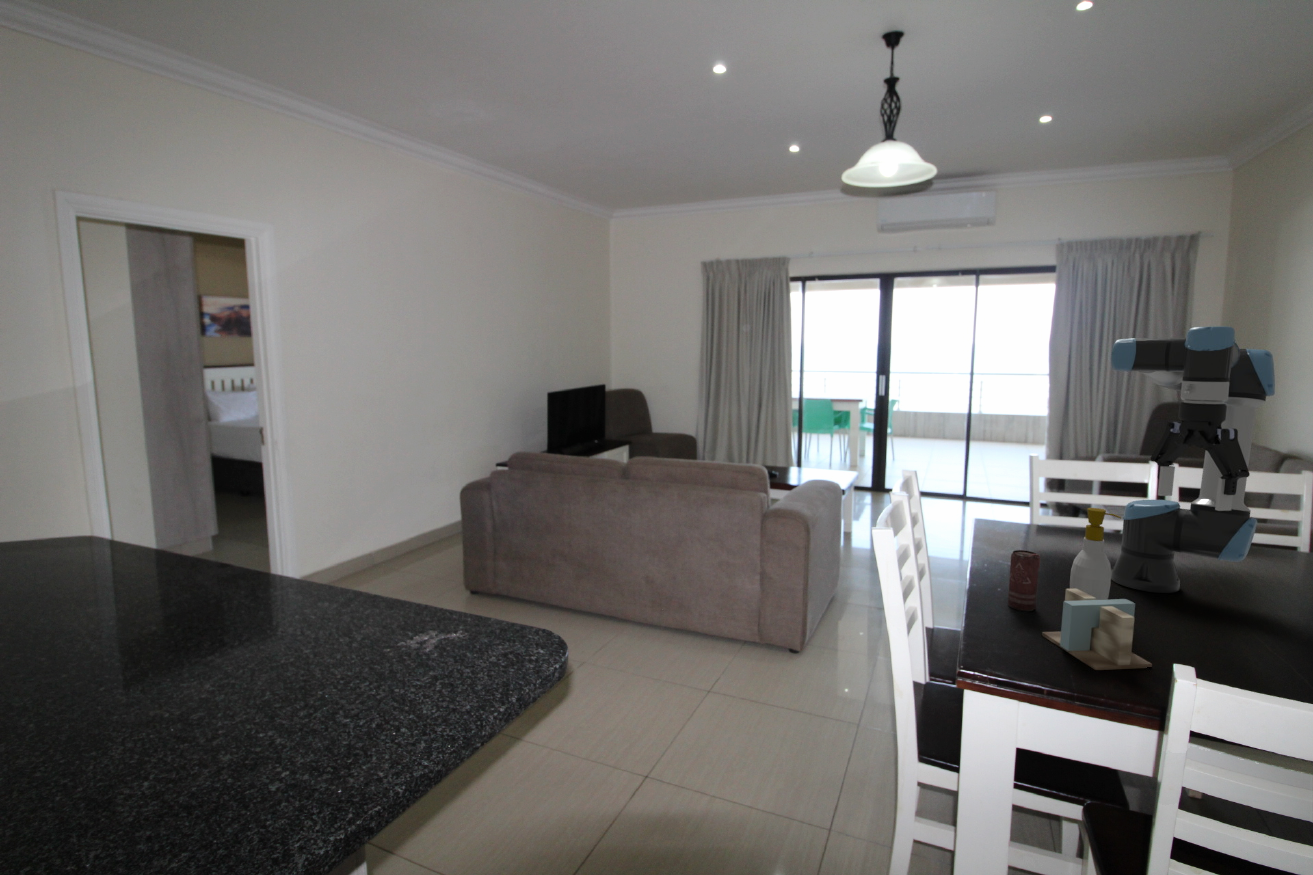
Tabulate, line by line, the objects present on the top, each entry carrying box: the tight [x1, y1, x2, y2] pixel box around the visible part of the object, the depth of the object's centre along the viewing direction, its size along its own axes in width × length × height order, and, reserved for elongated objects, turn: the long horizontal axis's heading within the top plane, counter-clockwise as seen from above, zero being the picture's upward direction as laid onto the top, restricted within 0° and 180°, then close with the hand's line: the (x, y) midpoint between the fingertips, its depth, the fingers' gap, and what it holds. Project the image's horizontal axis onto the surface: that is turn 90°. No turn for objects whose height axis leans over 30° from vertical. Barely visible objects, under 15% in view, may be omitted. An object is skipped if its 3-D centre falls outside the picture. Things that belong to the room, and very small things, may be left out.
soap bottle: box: [1069, 507, 1122, 600], centre depth 155 cm, size 14×9×26 cm, turn 140°
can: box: [1007, 549, 1041, 612], centre depth 160 cm, size 6×6×14 cm
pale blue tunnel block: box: [1060, 598, 1136, 652], centre depth 136 cm, size 14×2×10 cm, turn 94°
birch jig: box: [1041, 588, 1153, 671], centre depth 136 cm, size 16×12×11 cm
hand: (1192, 502), depth 135 cm, fingers open, 13 cm apart
